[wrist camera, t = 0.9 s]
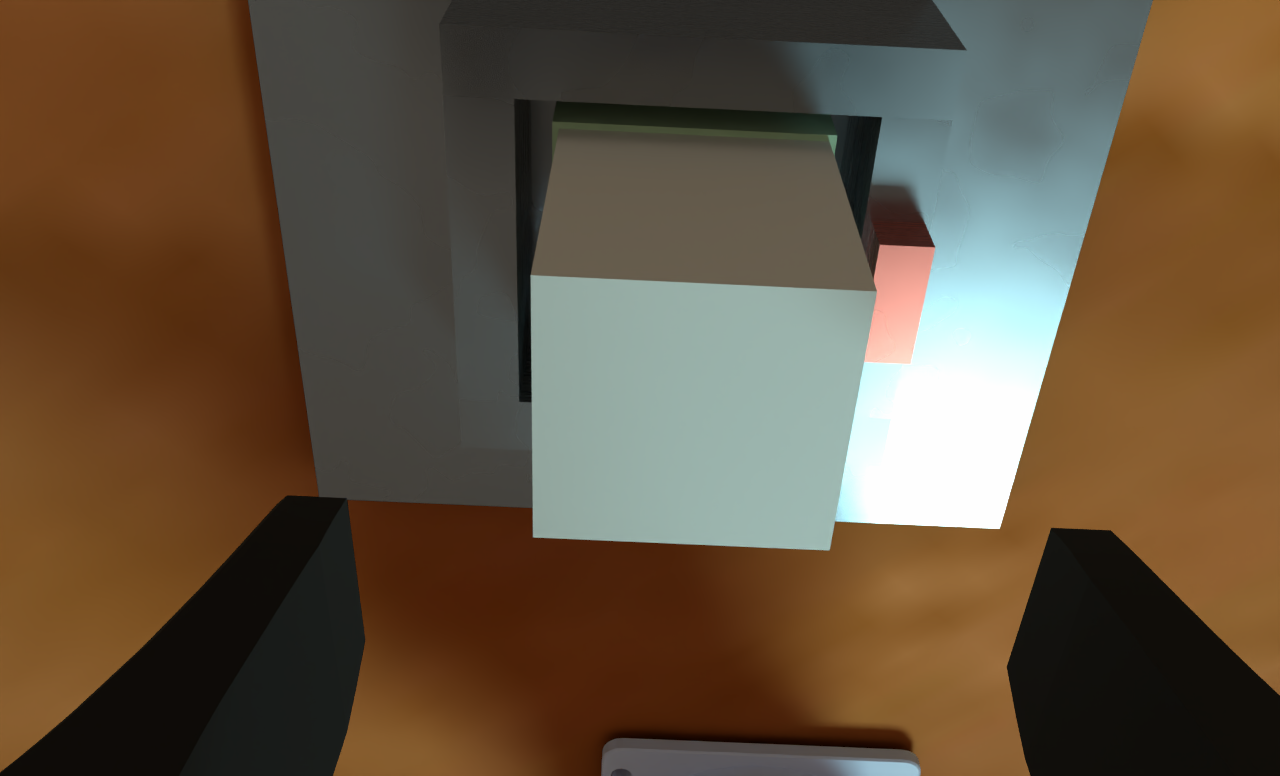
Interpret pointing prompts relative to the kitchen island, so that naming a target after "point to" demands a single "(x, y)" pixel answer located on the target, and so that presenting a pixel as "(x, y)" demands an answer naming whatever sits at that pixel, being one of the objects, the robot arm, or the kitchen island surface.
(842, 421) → the pale grey block
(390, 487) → the stand base
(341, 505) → the robot arm
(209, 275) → the kitchen island surface
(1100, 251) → the kitchen island surface
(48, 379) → the kitchen island surface
